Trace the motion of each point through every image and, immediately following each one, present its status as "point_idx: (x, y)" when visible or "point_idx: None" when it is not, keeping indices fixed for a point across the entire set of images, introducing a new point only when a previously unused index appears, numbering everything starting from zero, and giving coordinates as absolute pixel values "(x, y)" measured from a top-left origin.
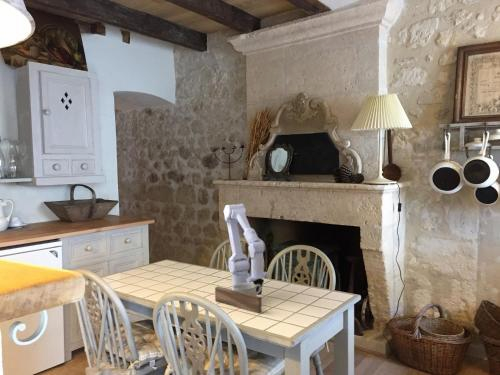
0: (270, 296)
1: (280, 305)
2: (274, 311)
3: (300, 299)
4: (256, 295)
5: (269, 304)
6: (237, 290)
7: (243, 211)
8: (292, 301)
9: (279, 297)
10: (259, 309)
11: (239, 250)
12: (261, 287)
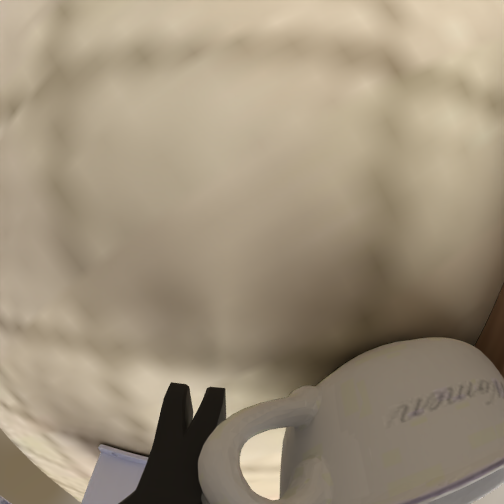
0: (82, 296)
1: (278, 7)
2: (475, 19)
3: (6, 13)
4: (303, 392)
5: (330, 150)
6: (500, 469)
7: None
8: (72, 5)
9: (42, 199)
10: None
11: None
12: (226, 460)
